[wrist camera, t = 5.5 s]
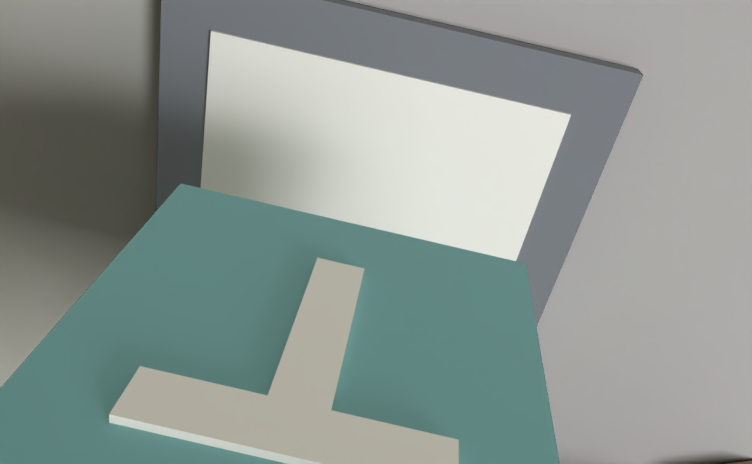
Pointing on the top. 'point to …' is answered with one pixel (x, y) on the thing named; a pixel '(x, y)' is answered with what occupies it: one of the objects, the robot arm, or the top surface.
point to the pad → (388, 123)
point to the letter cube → (285, 350)
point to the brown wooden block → (744, 463)
